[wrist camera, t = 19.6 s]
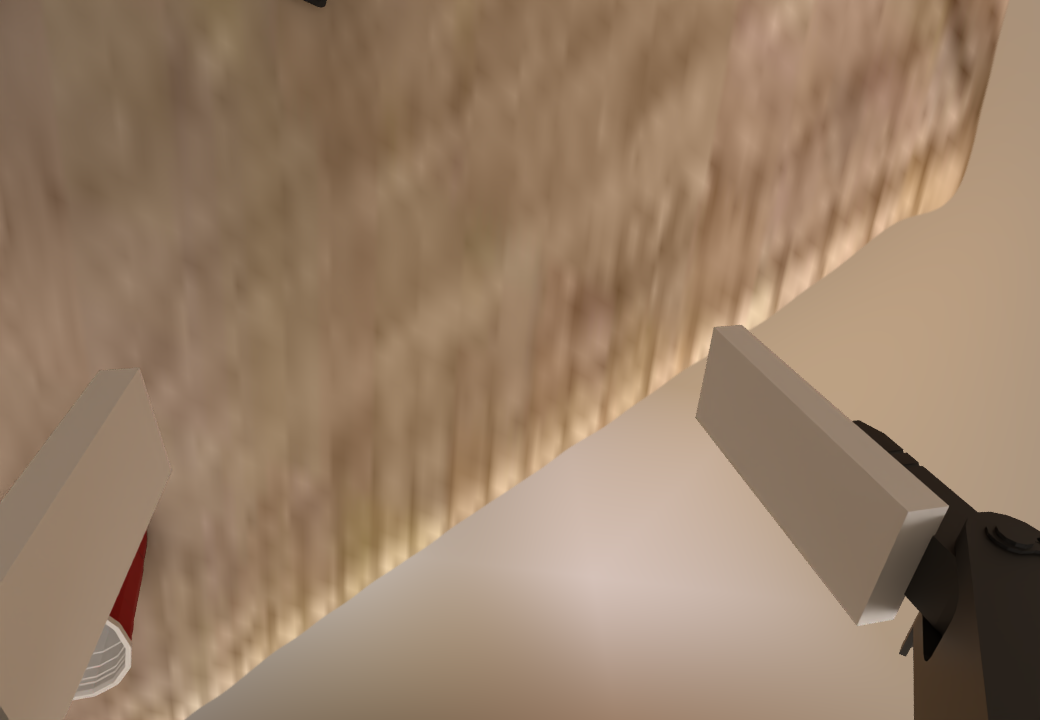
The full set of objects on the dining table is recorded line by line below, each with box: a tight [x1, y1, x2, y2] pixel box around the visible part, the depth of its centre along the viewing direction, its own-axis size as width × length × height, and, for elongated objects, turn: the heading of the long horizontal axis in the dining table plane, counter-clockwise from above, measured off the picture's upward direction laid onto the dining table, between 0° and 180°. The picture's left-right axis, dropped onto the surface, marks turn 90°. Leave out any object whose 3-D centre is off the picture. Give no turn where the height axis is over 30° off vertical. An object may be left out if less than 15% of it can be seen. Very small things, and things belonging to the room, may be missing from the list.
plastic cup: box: [73, 531, 147, 700], centre depth 48 cm, size 11×11×12 cm
